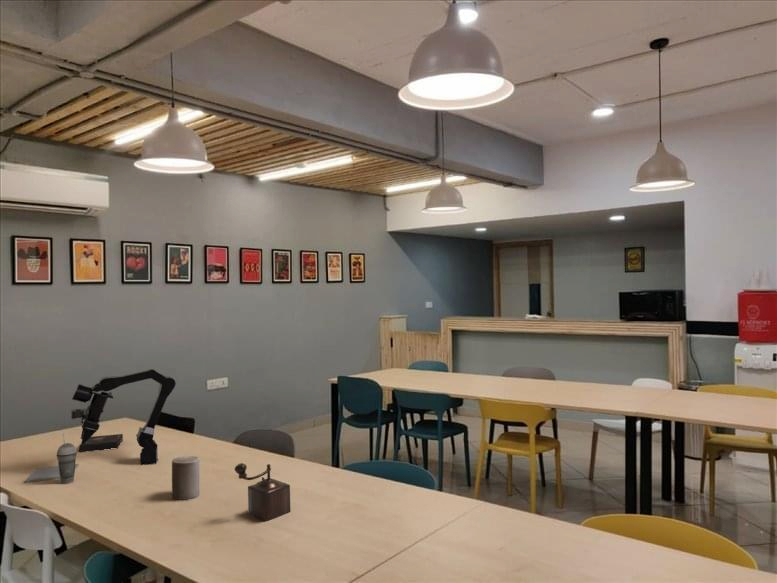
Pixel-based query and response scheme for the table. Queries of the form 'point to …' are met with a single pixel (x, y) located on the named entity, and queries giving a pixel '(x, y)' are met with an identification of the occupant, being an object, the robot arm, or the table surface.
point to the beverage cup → (66, 462)
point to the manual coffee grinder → (266, 495)
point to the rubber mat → (45, 474)
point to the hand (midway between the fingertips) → (82, 441)
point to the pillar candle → (185, 477)
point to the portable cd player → (101, 442)
